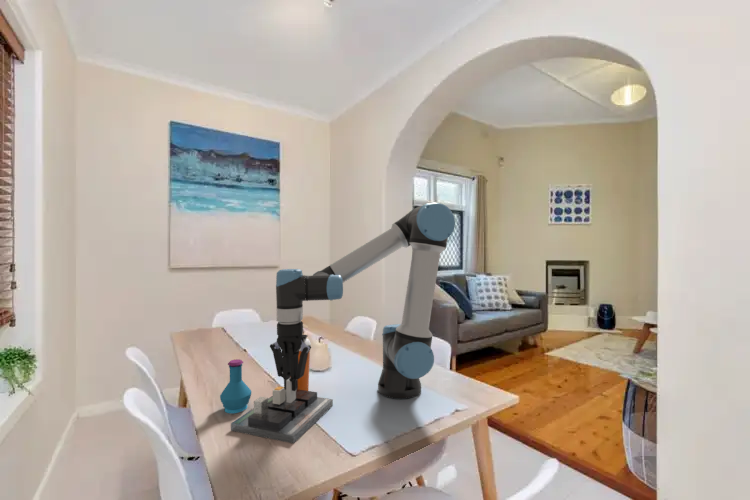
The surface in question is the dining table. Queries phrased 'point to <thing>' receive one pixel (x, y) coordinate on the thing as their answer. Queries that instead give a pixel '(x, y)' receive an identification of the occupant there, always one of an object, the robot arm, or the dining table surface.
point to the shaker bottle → (304, 380)
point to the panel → (288, 427)
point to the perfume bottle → (235, 390)
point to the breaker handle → (279, 395)
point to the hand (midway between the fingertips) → (291, 400)
